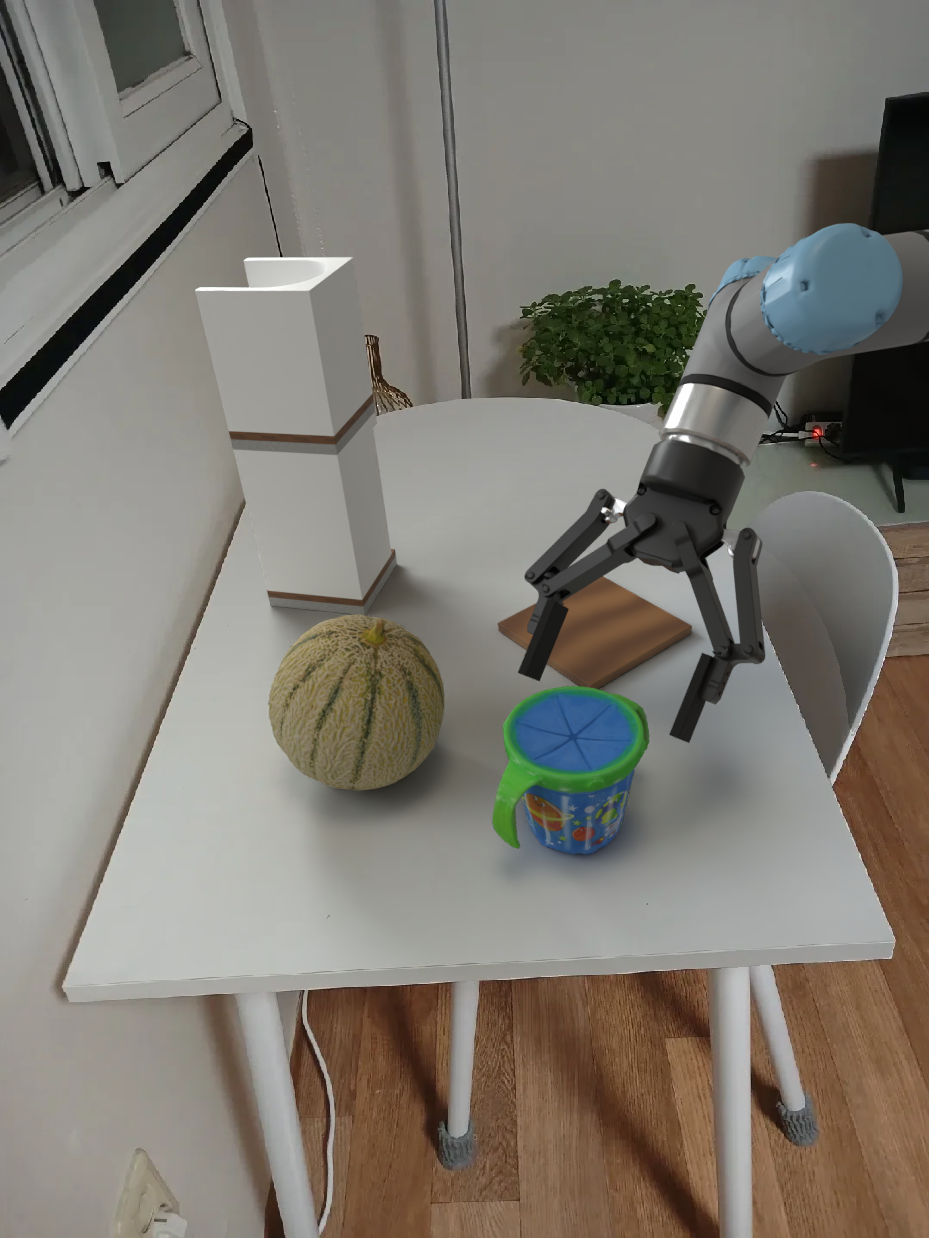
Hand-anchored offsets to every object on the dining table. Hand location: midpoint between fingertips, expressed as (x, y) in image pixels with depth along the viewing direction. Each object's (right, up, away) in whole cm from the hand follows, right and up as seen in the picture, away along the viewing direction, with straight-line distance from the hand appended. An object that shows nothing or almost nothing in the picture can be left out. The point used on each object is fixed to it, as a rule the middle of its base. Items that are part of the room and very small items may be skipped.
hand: (600, 707), depth 74 cm
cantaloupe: (-19, -6, +10) cm, 23 cm away
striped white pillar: (-25, +11, +35) cm, 45 cm away
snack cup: (-2, -10, +3) cm, 10 cm away
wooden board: (+3, +6, +24) cm, 25 cm away
